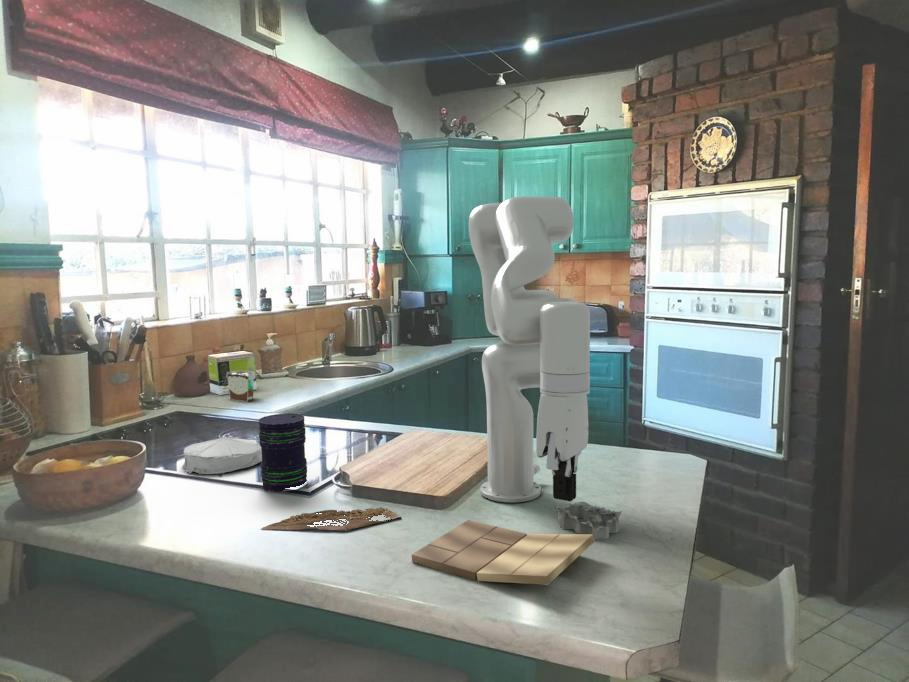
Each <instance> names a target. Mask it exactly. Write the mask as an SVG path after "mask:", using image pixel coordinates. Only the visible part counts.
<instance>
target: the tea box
mask: <svg viewBox="0 0 909 682" xmlns="http://www.w3.org/2000/svg"><path fill="white" fill-rule="evenodd" d="M207 365H208V378H209V388H210V389H209V390H210V393H213V394H216V395H217V396H218V395H219V396H223V395H229V387H228V379H227V378H226V374H227V372H231V371H252V372H254V374H255V379H254V381H253V391H255V390H258V383H257V382H258V381H257V368H256V358H255V352H250V351H245V350H241V351H233V352H223V353H217V354H208V355H207Z"/></svg>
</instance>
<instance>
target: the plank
mask: <svg viewBox="0 0 909 682" xmlns="http://www.w3.org/2000/svg"><path fill="white" fill-rule="evenodd" d="M594 543H595V539H594V538H593V534H585V533H584V534H579V533H575V534H574V533H569V534H568V533H567V534H566V533H556V534H555V533H554V534H553V533H527V536H525V537H524V538H523V539H521V540H520V541H518V542H517V543H516V544H514V545H513V546H512V547H510V548H509V549H508V550H506V551H505V552H504V553H502V554H501V555H500V556H498V557H497V558H496V559H494V560H493V561H492V562H490V563H489V564H488V565H486V566H485V567H484V568H482V569H481V570H480V571H478V572H477V573H476V574H477V579H476V580H477V582H492V583H513V584H514V583H515V584H527V585H528V584H531V585H534V584H535V585H548V586H549V584H551V583H552V582H553V581H554V579H556V578H557V577H559V575H560V574H561V573H563V571H565V569H567V568H568V567H570V565H571V564H572V563H573V562H574V561H576V559H577V558H578V557H580V556H581V554H583V553H584V552H585V551H586V550H587V549H588V548H589V547H590V546H591V545H592V544H594Z"/></svg>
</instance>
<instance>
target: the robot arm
mask: <svg viewBox="0 0 909 682" xmlns="http://www.w3.org/2000/svg"><path fill="white" fill-rule="evenodd" d="M574 220H575V219H574V212H573V209H572V207H571V205H570V204H569V202H568V201H567V200H566V199H565V198H563V197H559V196H515V197H510V198H508V199H506V200H504V201H503V202H491V203H484V204H480V205H478V206H476V207H475V208H474V209H472V211H471V213H470V214H469V217H468V235H469V241H470V245H471V249H472V251H473V255H474V257H475V260H476V263H477V264H478V267H479V270H480V275H481V284H482V294H483V296H482V297H483V309H484V318H485V324H486V328H487V330H488V332H489V333H490V334H491V335H494V336H498V337H499V338H501V340H502V341H503V342H498V343H493V344H491V345H490V346H488V347H486V349H484V351H483V354H482V357H481V369H482V370H481V371H482V376H483V381H484V389H485V398H486V399H485V400H486V435H487V438H486V440H487V441H486V445H487V447H486V448H487V449H486V451H487V481H485V482H484V483H482V484H481V485H480V495H481V496H483V497H484V498H485V499H487V498H488V500H490V501H494V502H497V503H498V502H499V503H510V504H513V503H524V502H529V501H532V500H535V499H537V498H538V497H540V496H541V494H542V487H541V485H540V484H539V483H537V482H535V481H534V476H535V475H536V474H538V473H540V471H541V468H540V465H538V464H534V411H533V408H532V405H531V403H530V401H528V399H527V398H526V397H525V396H524V395H523V394H522V392H521V390H525V389H531V388H532V389H533V388H534V389H535V388H539V392H540V397H539V401H538V402H539V403H538V408H537V409H538V410H537V418H536V419H537V422H536V434H535V435H536V440H535V454H536V456H537V458H539V459H542V458H544V457H546V464H545V467H546V469H547V470H551V474H552V498H553V499H554V500H559V501H565V502H569V503H570V502H572V501H573V500H575V499H577V473H578V462H579V457H580V456H581V454H582V451H583V450H585V449H586V448H587V446H588V442H589V408H588V407H589V405H588V395H589V394H590V393H591V390H590V389H591V388H590V387H591V385H590V384H591V383H590V381H591V371H590V369H591V368H590V366H591V364H590V362H591V361H590V359H591V357H590V356H591V311H590V308H589V306H588V305H587V304H586V303H584V302H581V301H577V300H575V299H574V298H573V299H572V298H568V297H558V296H557V294H556V293H555V292H553V291H550V290H548V289H526V288H525V286H526V285H528V284H530V283H532V282H534V281H536V280H539V279H541V278H542V277H544V276H545V275H547V274H548V272H549V271H550V270H551V269H552V268H553V265H554V264H555V259H556V256H555V251H554V248H553V245H552V244H558V243H563V242H565V241H567V240H569V238H570V237H571V235H572V234H573V230H574V227H575V226H574V224H575V221H574Z"/></svg>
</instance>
